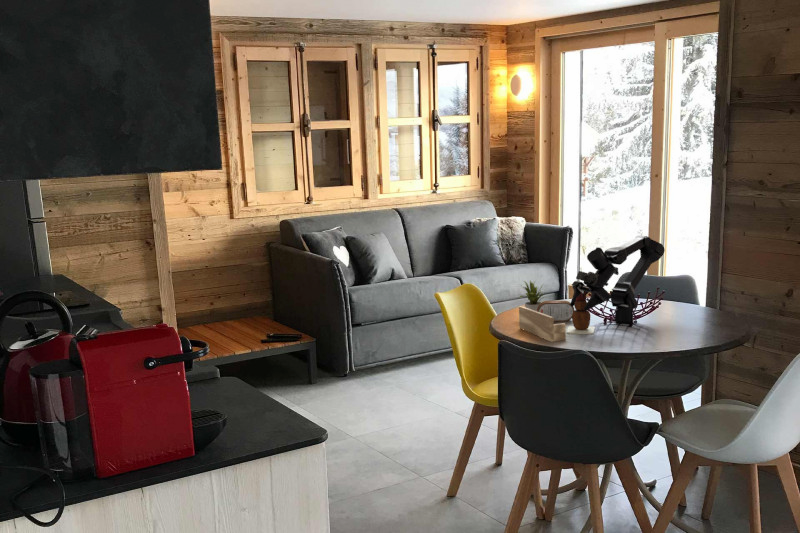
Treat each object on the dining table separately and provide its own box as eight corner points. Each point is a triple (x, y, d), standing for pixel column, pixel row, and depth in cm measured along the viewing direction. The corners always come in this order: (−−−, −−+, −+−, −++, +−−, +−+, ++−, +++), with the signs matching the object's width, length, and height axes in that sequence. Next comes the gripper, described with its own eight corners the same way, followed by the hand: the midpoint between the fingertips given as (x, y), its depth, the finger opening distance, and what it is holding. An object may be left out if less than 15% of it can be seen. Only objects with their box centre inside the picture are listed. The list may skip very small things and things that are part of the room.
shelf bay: (533, 326, 312) (532, 304, 311) (565, 339, 290) (565, 315, 289) (519, 328, 310) (518, 306, 309) (551, 341, 288) (550, 317, 287)
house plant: (507, 317, 332) (506, 279, 330) (532, 312, 339) (532, 275, 336) (528, 322, 320) (527, 283, 317) (554, 317, 326) (554, 279, 324)
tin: (574, 320, 321) (574, 299, 320) (575, 321, 318) (574, 301, 317) (537, 320, 323) (536, 300, 322) (537, 322, 320) (537, 302, 318)
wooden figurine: (591, 327, 304) (590, 289, 301) (589, 331, 298) (589, 292, 296) (573, 327, 306) (572, 289, 304) (571, 330, 301) (570, 292, 298)
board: (595, 328, 305) (595, 326, 305) (593, 334, 296) (593, 332, 296) (568, 327, 308) (568, 326, 308) (566, 333, 299) (566, 332, 299)
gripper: (575, 260, 308) (551, 291, 306) (603, 266, 291) (578, 298, 289) (592, 278, 312) (569, 308, 310) (621, 285, 295) (596, 317, 293)
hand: (577, 307), depth 300 cm, fingers open, 9 cm apart
